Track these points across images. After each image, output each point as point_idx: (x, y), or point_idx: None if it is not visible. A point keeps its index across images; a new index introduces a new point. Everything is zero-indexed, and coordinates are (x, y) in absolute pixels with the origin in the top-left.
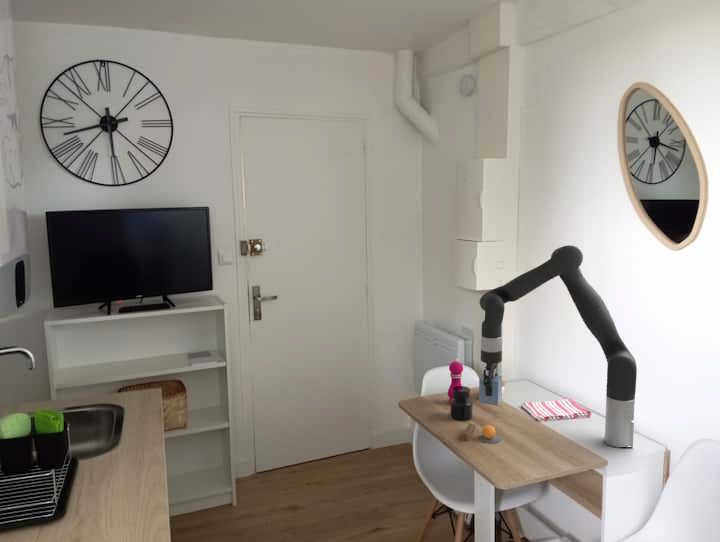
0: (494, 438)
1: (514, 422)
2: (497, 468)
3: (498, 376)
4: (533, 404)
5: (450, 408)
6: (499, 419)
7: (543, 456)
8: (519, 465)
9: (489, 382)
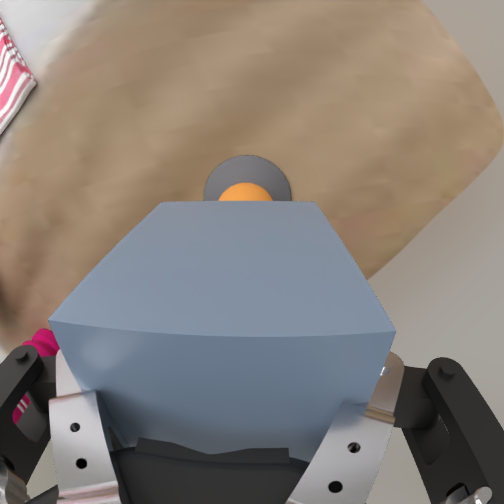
0: (243, 182)
1: (67, 153)
2: (456, 145)
3: (95, 365)
4: None
5: None
6: (68, 208)
7: (325, 2)
8: (421, 78)
9: (473, 400)
